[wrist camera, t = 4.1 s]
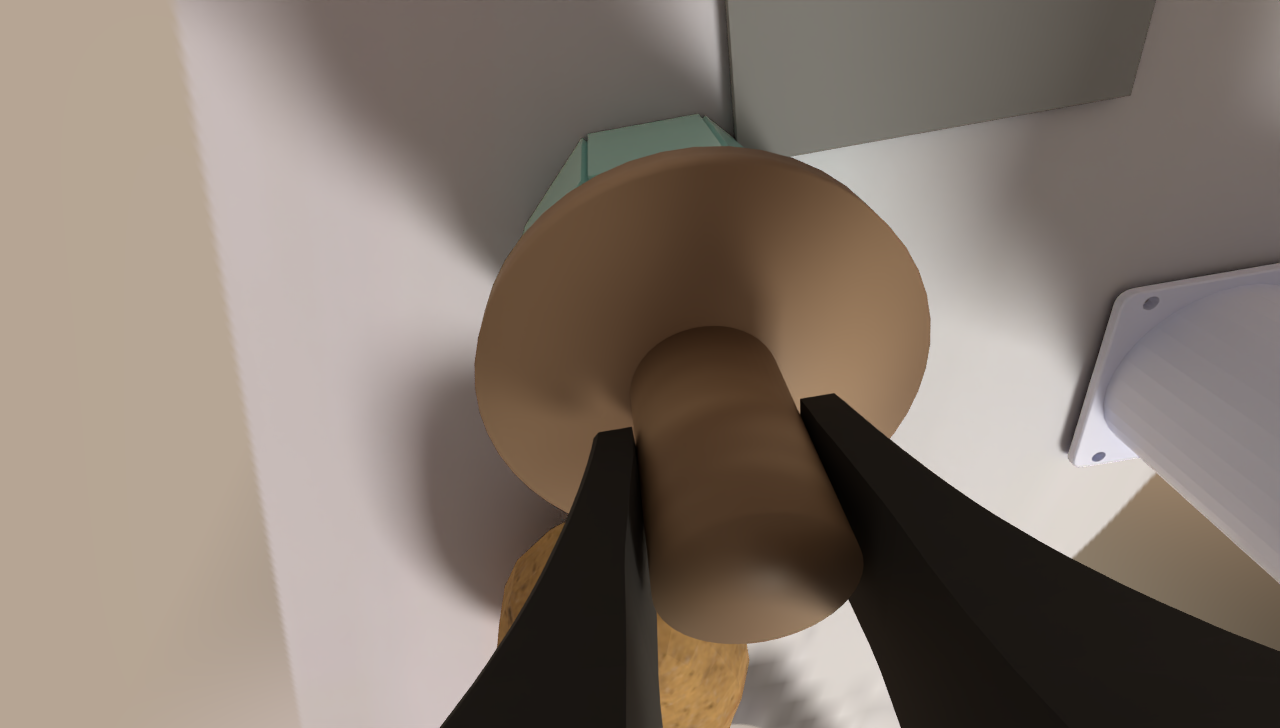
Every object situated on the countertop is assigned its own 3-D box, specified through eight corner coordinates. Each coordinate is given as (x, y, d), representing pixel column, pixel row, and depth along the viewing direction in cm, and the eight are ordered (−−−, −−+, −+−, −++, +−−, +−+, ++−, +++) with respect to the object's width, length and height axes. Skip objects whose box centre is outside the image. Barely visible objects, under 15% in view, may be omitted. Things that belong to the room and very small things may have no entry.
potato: (722, 427, 23) (777, 615, 17) (729, 643, 31) (767, 831, 24) (464, 458, 23) (415, 660, 16) (535, 667, 31) (521, 862, 24)
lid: (953, 123, 11) (1221, 266, 6) (872, 486, 16) (986, 705, 11) (430, 169, 10) (317, 352, 6) (522, 522, 16) (499, 761, 11)
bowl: (786, 97, 17) (835, 131, 14) (792, 342, 21) (830, 413, 18) (500, 149, 17) (479, 195, 14) (565, 381, 22) (560, 458, 18)
